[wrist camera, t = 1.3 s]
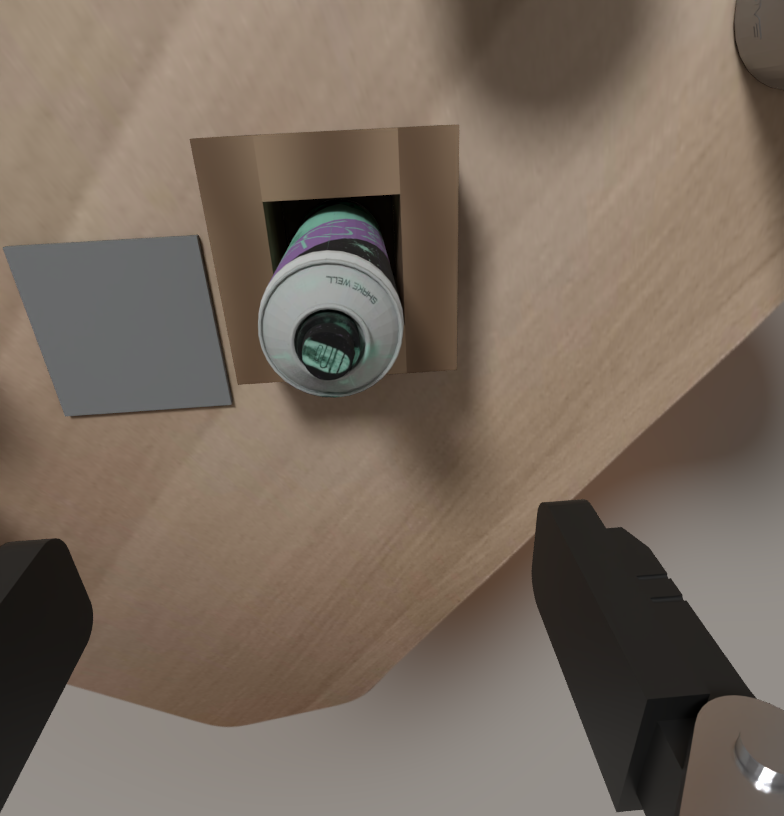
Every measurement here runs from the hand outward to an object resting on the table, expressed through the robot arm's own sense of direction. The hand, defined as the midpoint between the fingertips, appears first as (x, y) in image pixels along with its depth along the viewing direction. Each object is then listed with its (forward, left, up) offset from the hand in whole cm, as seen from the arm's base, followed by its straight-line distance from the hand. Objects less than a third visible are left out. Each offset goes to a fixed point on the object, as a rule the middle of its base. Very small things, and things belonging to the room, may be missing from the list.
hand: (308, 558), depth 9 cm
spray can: (0, 0, -30) cm, 30 cm away
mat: (+15, +5, -29) cm, 33 cm away
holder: (0, 0, -29) cm, 29 cm away
